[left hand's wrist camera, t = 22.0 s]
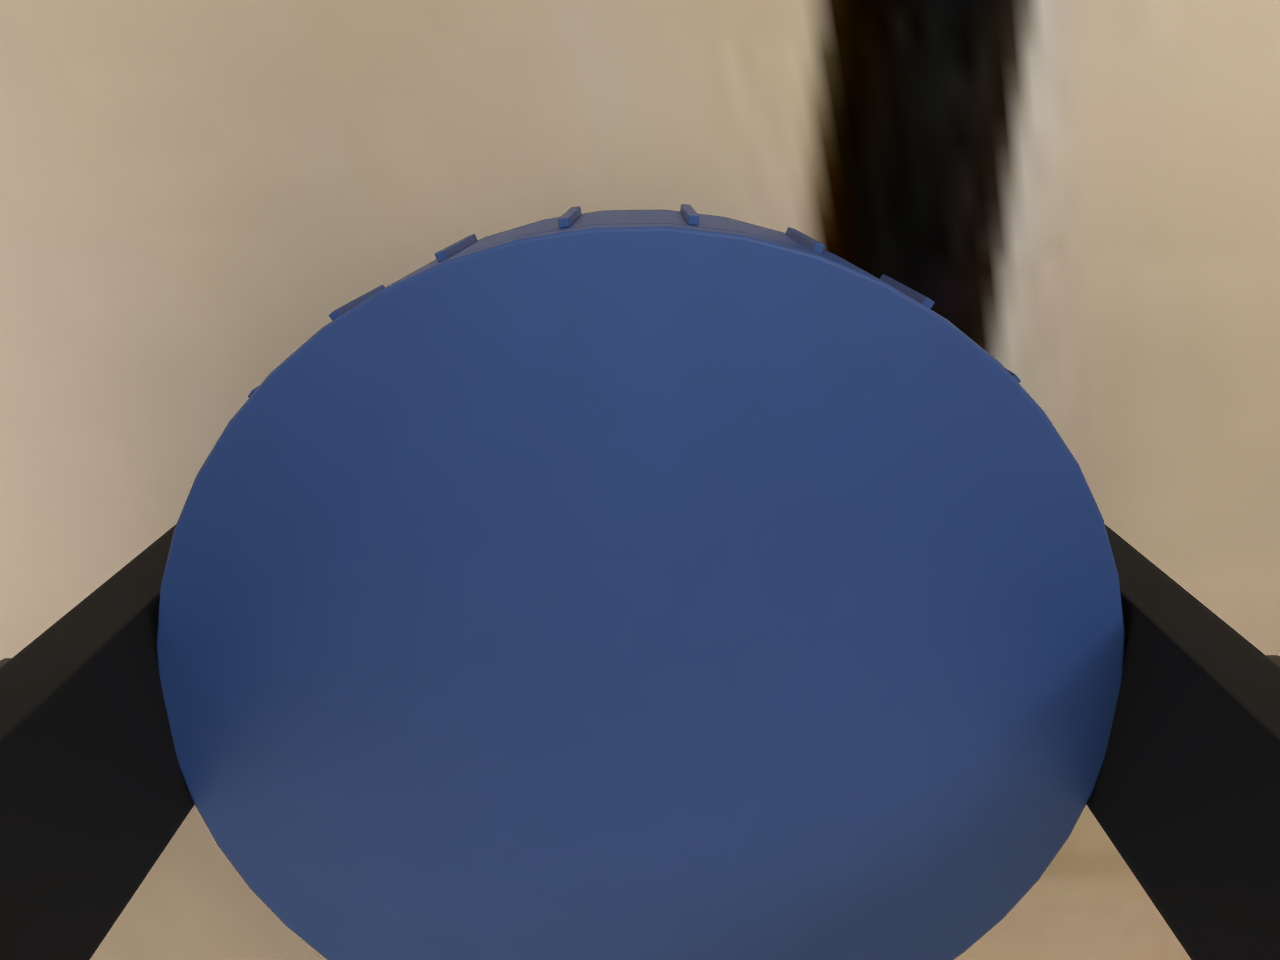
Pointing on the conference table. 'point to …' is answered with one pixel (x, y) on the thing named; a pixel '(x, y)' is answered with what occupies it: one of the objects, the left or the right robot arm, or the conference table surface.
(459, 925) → the lid
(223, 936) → the conference table surface
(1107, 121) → the conference table surface
